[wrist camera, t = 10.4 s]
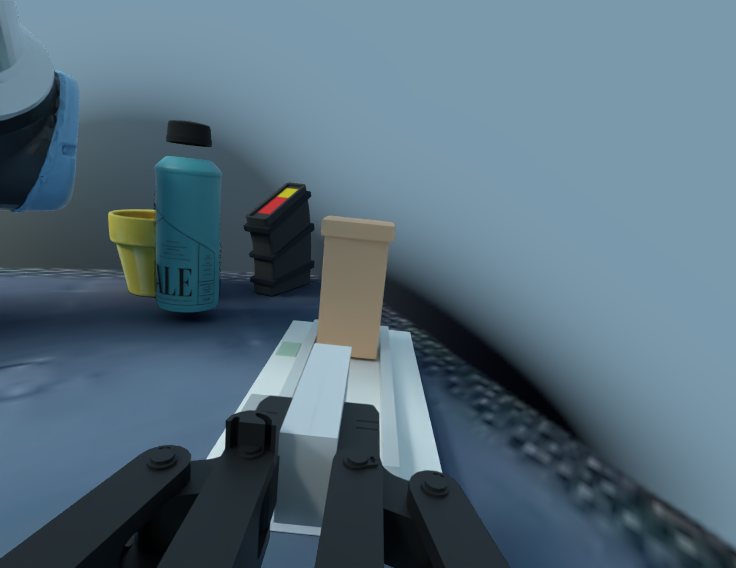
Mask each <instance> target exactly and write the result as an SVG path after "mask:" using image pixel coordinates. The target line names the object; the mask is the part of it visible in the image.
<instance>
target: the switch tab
mask: <svg viewBox="0 0 736 568" xmlns="http://www.w3.org/2000/svg"><path fill="white" fill-rule="evenodd" d="M394 231H395V226H394V223H393V222H385V221H375V220H366V219H357V218H347V217H337V216H327V217H325V218H324V219H322V227H321V235H325V245H324V257H323V270H322V282H321V295H320V307H319V320H318V332H317V343H319V344H329V345H339V346H348V347H352V349H351V357H357V358H367V359H376V357H377V348H378V339H379V330H380V321H381V312H382V303H383V294H384V285H385V276H386V267H387V258H388V249H389V242H393V241H394Z"/></svg>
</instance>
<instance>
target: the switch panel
mask: <svg viewBox="0 0 736 568" xmlns="http://www.w3.org/2000/svg"><path fill="white" fill-rule="evenodd" d="M318 320H319V319H315V320H314V322H306V321H296V320H293V322H292V324H291V325H290V327H289V328H288V330H287V332H286V333H285V335H284V336H283V338H282V340H281V341H280V343H279V344H278V346H277V347H276V349H275V351H274V352H273V354H272V355H271V357H270V359H269V360H268V362H267V363H266V365H265V367H264V368H263V370H262V371H261V373H260V375H259V376H258V378H257V379H256V381H255V382H254V384H253V386H252V387H251V389H250V390H249V392H248V394H247V395H246V397H245V398H244V400H243V402H242V403H241V405H240V406H239V408H238V410H237V411H236V413H238V412H242V411H247V410H256V408H257V406H258V404H259V403H260V402H261V401H262V400H264V399H265V398H267V397H268V396H270V395H272V396H282V397H292V398H293V397H294V394H295V392H296V389H297V387H298V384H299V382H300V379H301V377H302V374H303V372H304V369H305V366H306V364H307V361H308V359H309V356H310V354H311V351H312V349H313V346H314V344H315V343H317V332H318ZM346 402H351V403H361V404H370V405H374V407H375V408H376V409H377V411H378V412H379V425H380V430H379V431H380V459H381V462H382V465H383V467H384V468H385V469H386V470H387V471H389V472H390V473H392V474H393V475H395V476H397V477H400V478H402V479H405V480H408V481H409V480H410V478H411V476H412V475H414V474H415V473H417V472H419V471H424V470H431V471H438V472H441V473H442V470H441V465H440V461H439V457H438V452H437V448H436V444H435V439H434V435H433V431H432V426H431V422H430V418H429V413H428V409H427V405H426V400H425V396H424V391H423V387H422V383H421V378H420V374H419V370H418V365H417V361H416V357H415V352H414V348H413V344H412V339H411V335H410V332H403V331H394V330H388V326H380V330H379V339H378V348H377V357H376V359H367V358H357V357H351V359H350V369H349V379H348V389H347V399H346ZM236 413H235V414H236ZM225 433H226V429H225V430H224V432H223V433H222V435H221V437H220V438H219V440H218V441H217V443H216V445H215V446H214V448H213V449H212V451H211V453H210V454H209V456H208V457H207V459H212V458H216V457H219V456H221V455H222V453H223V451H224V450H225ZM274 510H275V509H274ZM270 531H279V532H289V533H299V534H309V535H318V536H320V533H321V527H311V526H301V525H291V524H282V523H274V512H273V515H272V519H271V522H270Z"/></svg>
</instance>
